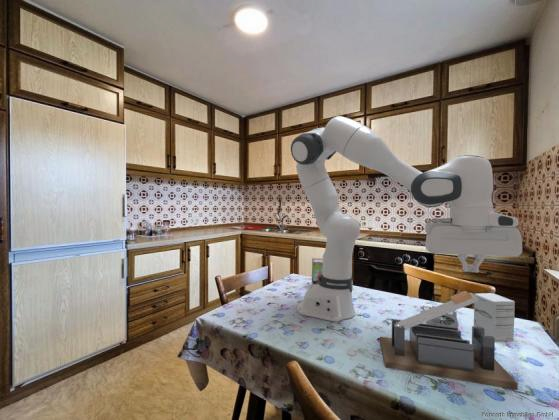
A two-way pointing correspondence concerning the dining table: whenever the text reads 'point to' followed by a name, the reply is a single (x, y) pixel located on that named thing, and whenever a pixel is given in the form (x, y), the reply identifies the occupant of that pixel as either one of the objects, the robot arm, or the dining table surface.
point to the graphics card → (443, 319)
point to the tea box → (316, 269)
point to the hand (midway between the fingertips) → (470, 271)
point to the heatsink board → (444, 372)
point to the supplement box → (495, 316)
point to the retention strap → (439, 310)
